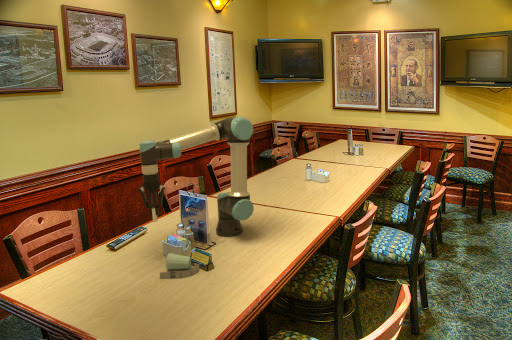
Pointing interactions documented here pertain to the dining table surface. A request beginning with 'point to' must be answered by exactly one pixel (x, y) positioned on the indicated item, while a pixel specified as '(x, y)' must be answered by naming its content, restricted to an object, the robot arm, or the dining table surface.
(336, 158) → the dining table surface
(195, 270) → the split ring
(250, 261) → the dining table surface
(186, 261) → the cup
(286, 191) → the dining table surface
